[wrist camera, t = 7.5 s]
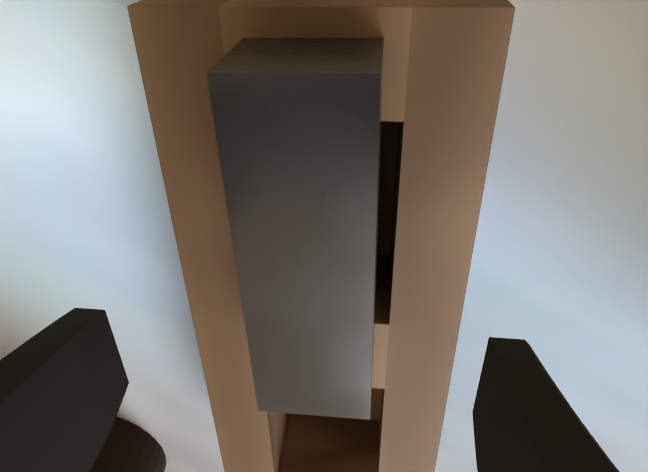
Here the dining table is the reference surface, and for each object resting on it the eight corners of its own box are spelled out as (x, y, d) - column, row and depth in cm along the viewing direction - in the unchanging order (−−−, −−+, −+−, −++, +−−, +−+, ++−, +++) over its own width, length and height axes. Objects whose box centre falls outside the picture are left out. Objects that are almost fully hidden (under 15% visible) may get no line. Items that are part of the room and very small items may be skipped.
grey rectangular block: (386, 8, 13) (380, 72, 9) (376, 281, 18) (370, 420, 14) (272, 10, 14) (206, 72, 9) (293, 278, 19) (258, 411, 14)
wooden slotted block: (483, -23, 14) (515, 7, 10) (419, 438, 25) (423, 533, 21) (195, -22, 15) (127, 6, 11) (256, 423, 26) (233, 513, 22)
